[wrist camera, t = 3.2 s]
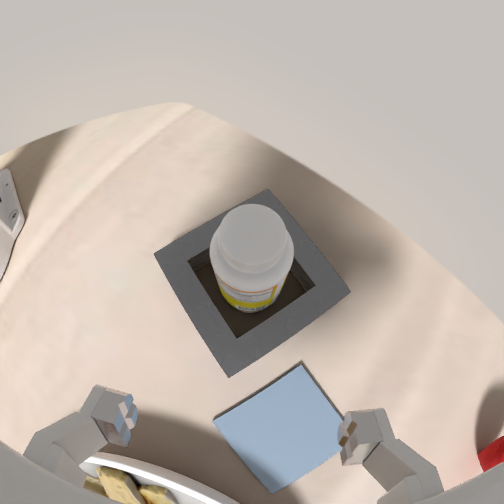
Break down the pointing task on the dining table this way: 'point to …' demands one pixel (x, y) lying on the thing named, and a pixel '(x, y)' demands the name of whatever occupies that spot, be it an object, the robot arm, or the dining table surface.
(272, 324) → the socket housing
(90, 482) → the bowl
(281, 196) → the dining table surface
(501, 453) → the strawberry
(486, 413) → the dining table surface
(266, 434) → the pad
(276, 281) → the supplement bottle
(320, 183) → the dining table surface
